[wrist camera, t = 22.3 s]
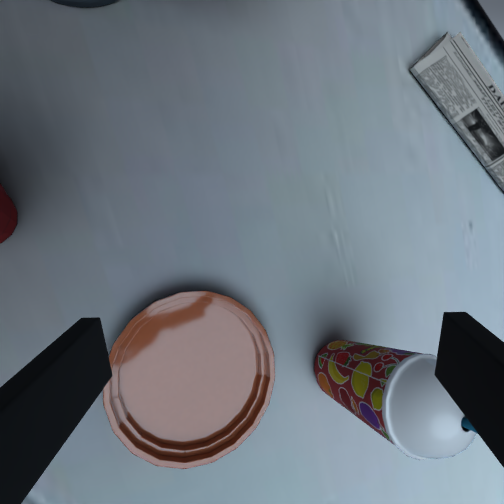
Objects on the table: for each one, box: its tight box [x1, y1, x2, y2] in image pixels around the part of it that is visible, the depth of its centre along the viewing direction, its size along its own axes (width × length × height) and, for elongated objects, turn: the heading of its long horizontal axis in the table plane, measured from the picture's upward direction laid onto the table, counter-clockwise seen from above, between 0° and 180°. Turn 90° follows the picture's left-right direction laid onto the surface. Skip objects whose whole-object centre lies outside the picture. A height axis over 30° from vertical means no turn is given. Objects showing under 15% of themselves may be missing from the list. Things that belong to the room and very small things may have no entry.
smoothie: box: [314, 340, 477, 460], centre depth 29 cm, size 8×8×20 cm
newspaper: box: [410, 32, 504, 191], centre depth 51 cm, size 35×12×4 cm, turn 46°
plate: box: [103, 291, 275, 469], centre depth 32 cm, size 17×17×2 cm
